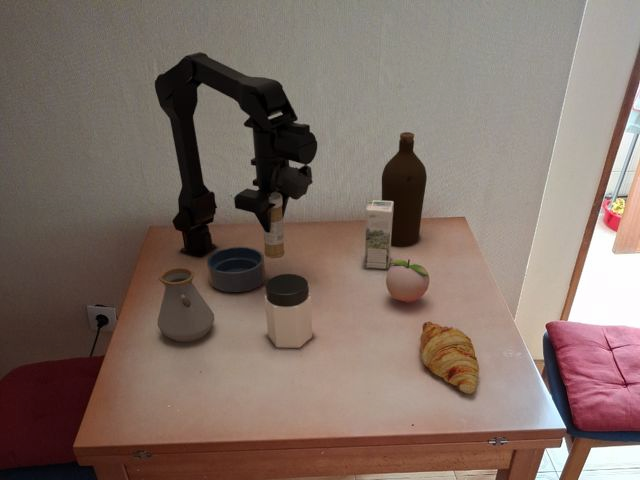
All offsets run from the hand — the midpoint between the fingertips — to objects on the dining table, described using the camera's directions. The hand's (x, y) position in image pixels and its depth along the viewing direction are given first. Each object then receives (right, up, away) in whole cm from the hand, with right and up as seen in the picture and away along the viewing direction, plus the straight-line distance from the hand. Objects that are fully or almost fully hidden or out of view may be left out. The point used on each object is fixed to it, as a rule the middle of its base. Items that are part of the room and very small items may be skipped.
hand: (273, 227), depth 132 cm
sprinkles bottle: (0, -5, +5) cm, 7 cm away
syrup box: (+24, -4, +13) cm, 28 cm away
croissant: (+34, -32, -17) cm, 49 cm away
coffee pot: (-16, -27, -10) cm, 32 cm away
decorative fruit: (+28, -16, 0) cm, 33 cm away
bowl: (-9, -9, +9) cm, 16 cm away
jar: (+4, -25, -9) cm, 27 cm away
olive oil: (+30, +5, +23) cm, 39 cm away
